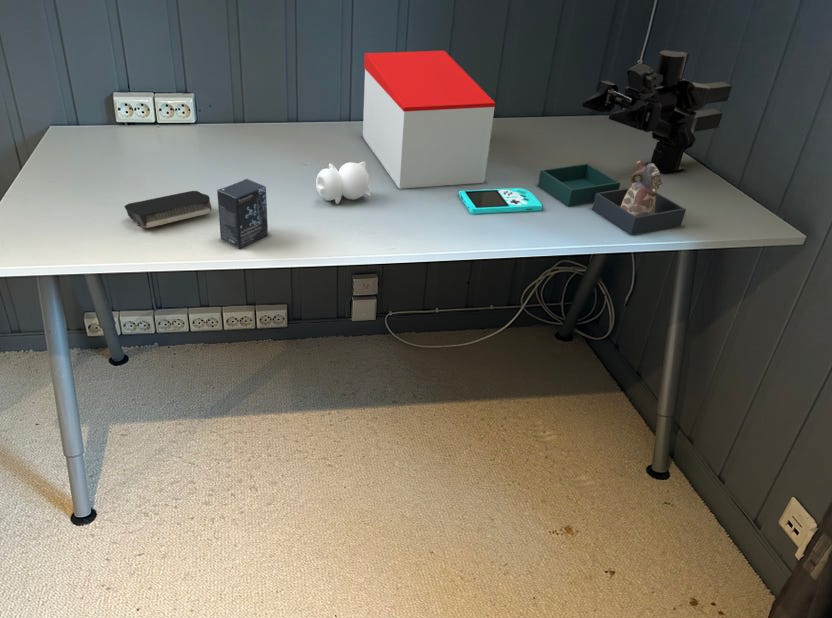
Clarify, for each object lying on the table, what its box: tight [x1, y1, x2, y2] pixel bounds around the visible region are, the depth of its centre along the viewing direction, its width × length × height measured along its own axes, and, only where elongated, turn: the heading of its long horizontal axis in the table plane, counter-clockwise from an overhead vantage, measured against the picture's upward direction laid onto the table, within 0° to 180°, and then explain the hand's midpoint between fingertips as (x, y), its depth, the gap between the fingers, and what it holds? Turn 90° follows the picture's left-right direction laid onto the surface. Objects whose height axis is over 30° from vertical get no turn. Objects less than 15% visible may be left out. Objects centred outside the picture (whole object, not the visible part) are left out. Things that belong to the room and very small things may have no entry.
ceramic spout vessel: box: [620, 160, 663, 217], centre depth 153 cm, size 7×7×12 cm
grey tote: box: [591, 187, 687, 236], centre depth 155 cm, size 13×13×4 cm
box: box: [216, 178, 269, 249], centre depth 141 cm, size 8×6×11 cm
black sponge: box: [123, 190, 212, 229], centre depth 150 cm, size 16×8×4 cm, turn 123°
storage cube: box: [362, 50, 496, 190], centre depth 175 cm, size 21×35×21 cm, turn 13°
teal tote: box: [537, 163, 621, 207], centre depth 165 cm, size 13×12×4 cm
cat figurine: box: [315, 160, 372, 205], centre depth 160 cm, size 9×11×12 cm
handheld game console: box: [458, 187, 543, 215], centre depth 160 cm, size 10×16×1 cm, turn 99°
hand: (596, 110), depth 162 cm, fingers open, 9 cm apart
